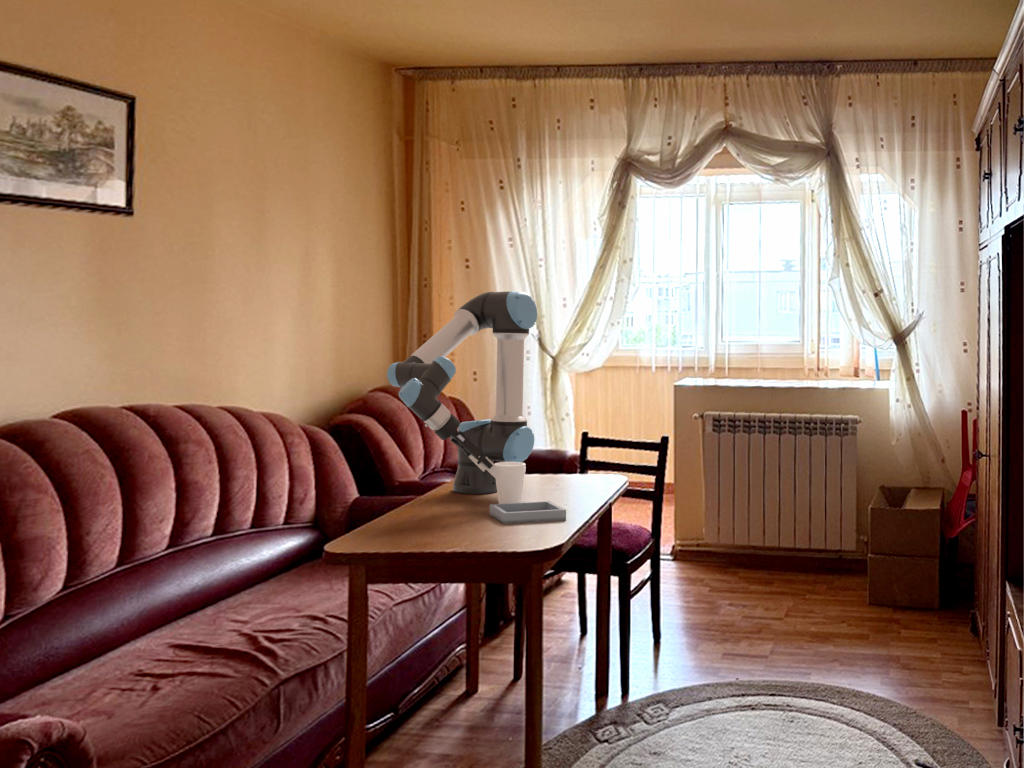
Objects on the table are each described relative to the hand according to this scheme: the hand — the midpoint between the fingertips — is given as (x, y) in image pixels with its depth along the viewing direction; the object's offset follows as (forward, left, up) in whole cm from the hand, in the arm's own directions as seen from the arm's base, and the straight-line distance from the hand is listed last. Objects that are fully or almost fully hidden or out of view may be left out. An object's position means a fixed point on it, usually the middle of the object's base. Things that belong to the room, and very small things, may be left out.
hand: (492, 471), depth 337 cm
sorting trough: (+17, +6, -11) cm, 21 cm away
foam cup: (-1, +6, -11) cm, 13 cm away
